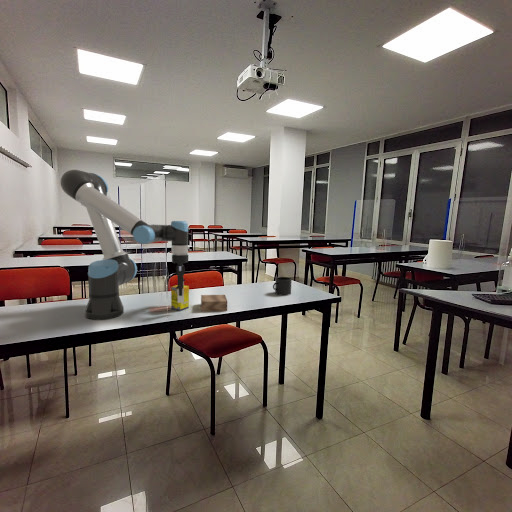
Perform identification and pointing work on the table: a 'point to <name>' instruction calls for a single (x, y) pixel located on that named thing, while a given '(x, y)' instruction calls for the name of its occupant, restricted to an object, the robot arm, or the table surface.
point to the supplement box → (174, 299)
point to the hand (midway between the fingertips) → (180, 298)
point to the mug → (282, 285)
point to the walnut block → (213, 303)
